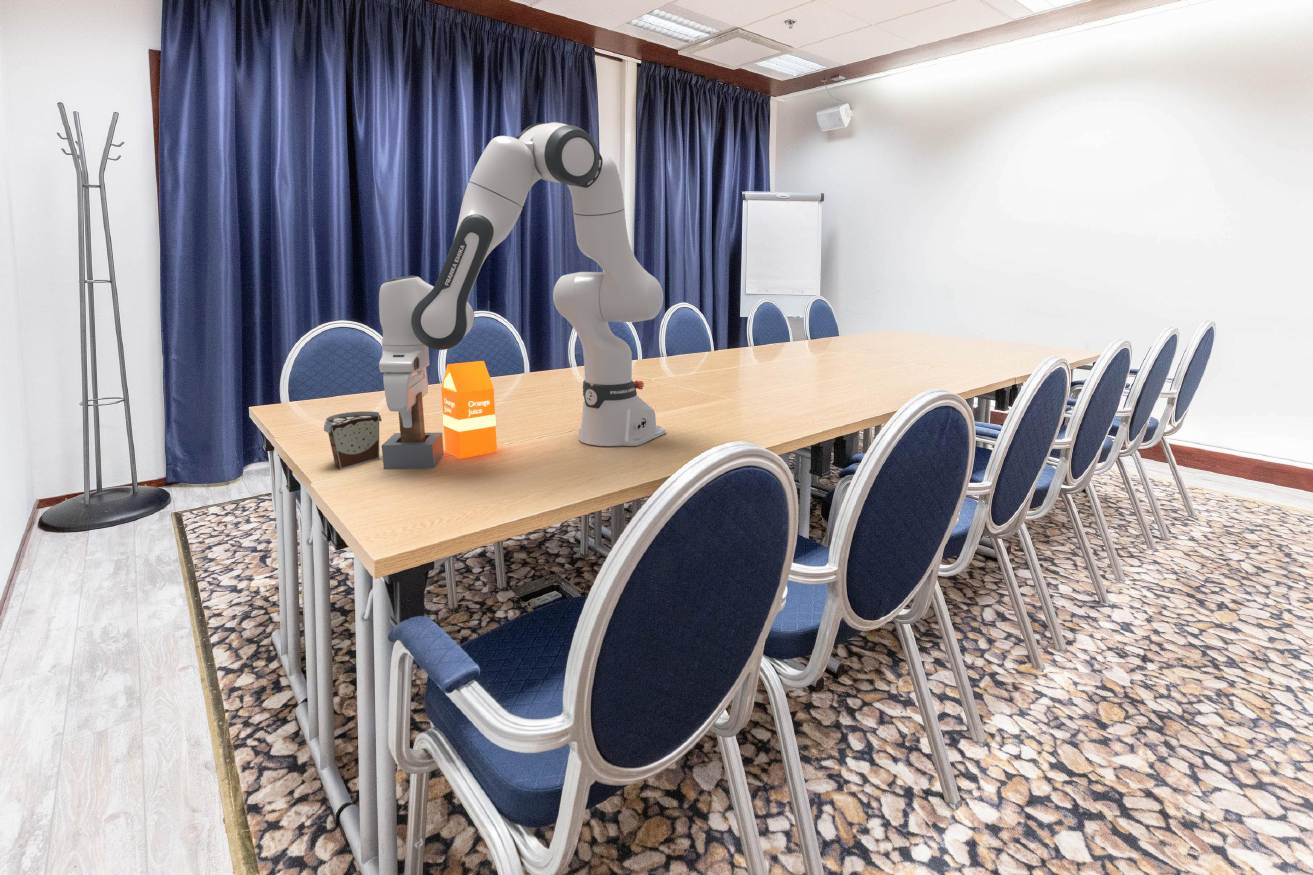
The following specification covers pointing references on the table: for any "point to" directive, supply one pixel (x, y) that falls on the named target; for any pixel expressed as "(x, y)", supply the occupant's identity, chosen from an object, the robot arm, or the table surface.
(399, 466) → the socket
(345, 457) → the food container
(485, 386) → the orange juice
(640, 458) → the table surface
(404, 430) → the peg
